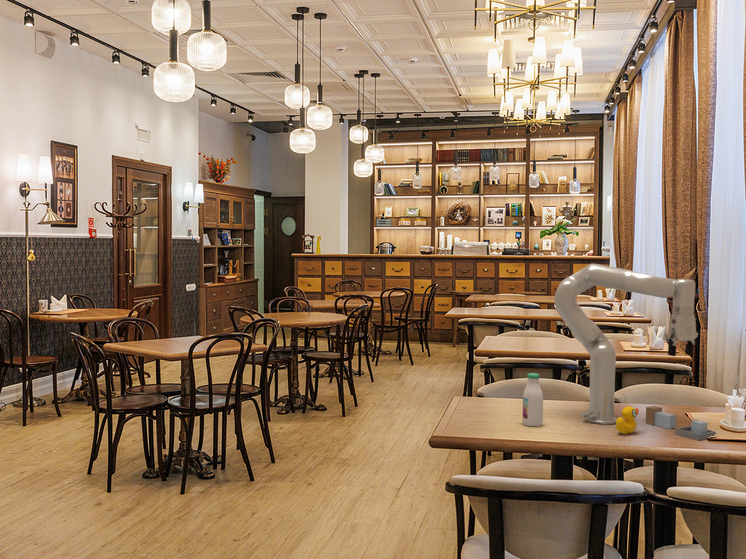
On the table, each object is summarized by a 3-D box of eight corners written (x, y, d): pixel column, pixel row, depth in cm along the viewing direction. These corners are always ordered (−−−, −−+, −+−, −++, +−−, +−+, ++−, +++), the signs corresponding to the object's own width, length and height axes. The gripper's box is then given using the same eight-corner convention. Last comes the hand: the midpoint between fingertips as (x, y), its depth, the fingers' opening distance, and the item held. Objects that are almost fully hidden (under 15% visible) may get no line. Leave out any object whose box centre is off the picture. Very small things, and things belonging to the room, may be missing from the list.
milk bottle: (544, 423, 269) (545, 373, 268) (540, 427, 262) (541, 376, 261) (524, 421, 272) (525, 371, 271) (520, 425, 265) (521, 374, 264)
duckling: (631, 429, 261) (631, 403, 260) (643, 432, 256) (643, 406, 256) (611, 433, 255) (612, 407, 254) (623, 437, 250) (624, 410, 250)
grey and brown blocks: (668, 429, 261) (668, 412, 261) (645, 423, 270) (646, 407, 270) (677, 427, 263) (677, 411, 263) (654, 421, 273) (654, 405, 272)
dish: (698, 440, 246) (698, 434, 246) (675, 434, 254) (675, 428, 254) (715, 437, 251) (715, 431, 251) (692, 430, 259) (692, 425, 259)
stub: (700, 437, 249) (701, 423, 248) (691, 434, 252) (691, 420, 252) (707, 435, 250) (707, 422, 250) (697, 433, 254) (697, 419, 253)
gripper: (675, 312, 257) (673, 357, 257) (706, 311, 264) (704, 355, 265) (659, 310, 263) (656, 354, 264) (689, 309, 271) (687, 352, 272)
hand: (680, 354), depth 265 cm, fingers open, 9 cm apart
